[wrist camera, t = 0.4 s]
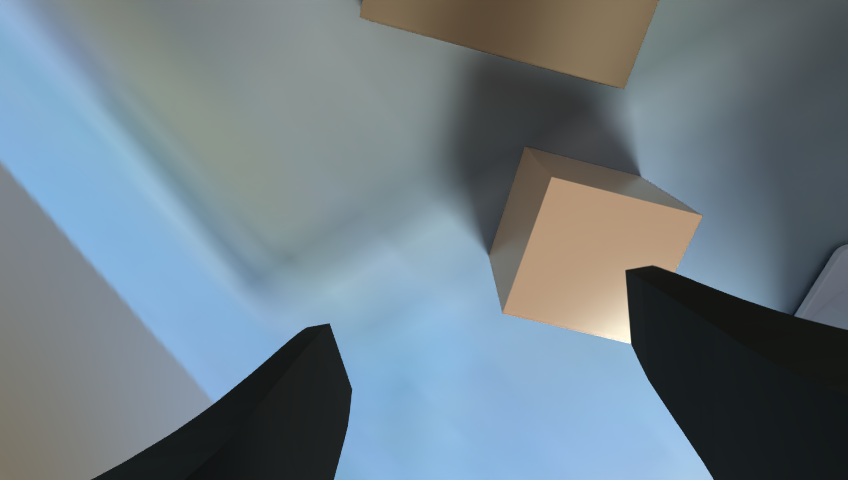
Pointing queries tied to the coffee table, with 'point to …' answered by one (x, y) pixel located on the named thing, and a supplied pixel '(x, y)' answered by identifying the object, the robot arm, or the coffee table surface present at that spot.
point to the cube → (582, 242)
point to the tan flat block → (532, 30)
